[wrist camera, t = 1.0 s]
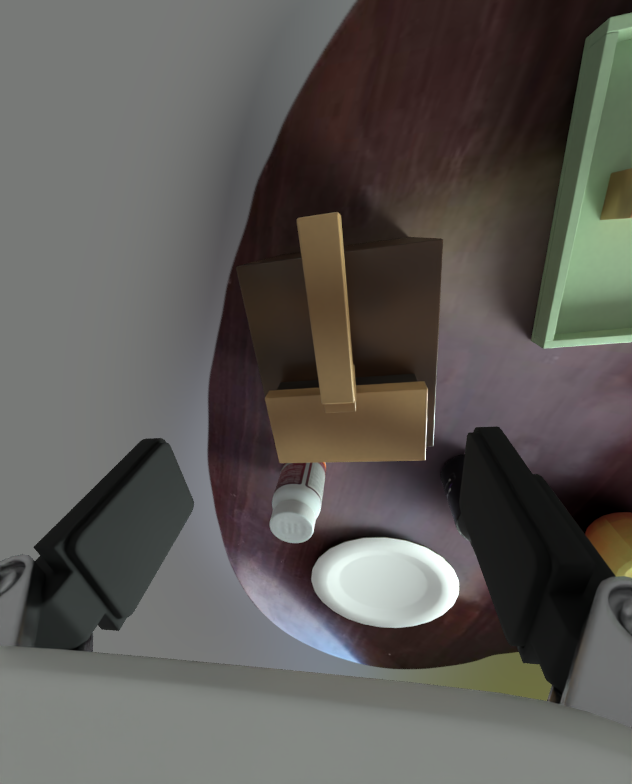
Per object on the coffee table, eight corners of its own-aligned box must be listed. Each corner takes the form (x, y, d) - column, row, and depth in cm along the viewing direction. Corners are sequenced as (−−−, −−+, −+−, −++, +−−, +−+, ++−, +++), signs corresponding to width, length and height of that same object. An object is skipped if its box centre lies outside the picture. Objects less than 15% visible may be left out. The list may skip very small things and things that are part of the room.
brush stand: (282, 254, 33) (235, 266, 20) (409, 236, 31) (443, 238, 18) (303, 382, 39) (276, 450, 27) (409, 375, 37) (433, 446, 25)
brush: (418, 434, 24) (435, 495, 19) (288, 438, 26) (268, 495, 21) (422, 206, 18) (451, 193, 12) (246, 233, 19) (199, 233, 14)
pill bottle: (280, 471, 46) (258, 535, 36) (292, 440, 44) (272, 501, 34) (318, 485, 47) (307, 553, 37) (333, 455, 44) (325, 520, 34)
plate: (483, 552, 49) (487, 562, 47) (425, 631, 60) (427, 641, 59) (328, 513, 49) (327, 522, 48) (301, 599, 61) (299, 608, 59)
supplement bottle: (428, 468, 43) (451, 545, 32) (474, 443, 40) (514, 518, 30) (457, 498, 45) (488, 580, 34) (502, 475, 42) (551, 557, 31)
